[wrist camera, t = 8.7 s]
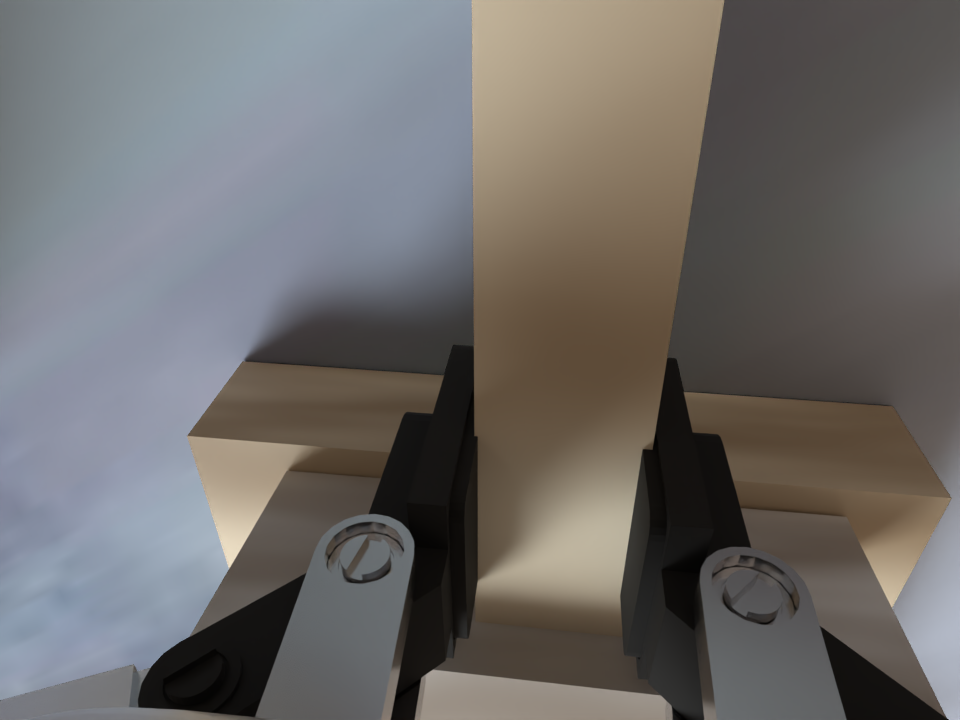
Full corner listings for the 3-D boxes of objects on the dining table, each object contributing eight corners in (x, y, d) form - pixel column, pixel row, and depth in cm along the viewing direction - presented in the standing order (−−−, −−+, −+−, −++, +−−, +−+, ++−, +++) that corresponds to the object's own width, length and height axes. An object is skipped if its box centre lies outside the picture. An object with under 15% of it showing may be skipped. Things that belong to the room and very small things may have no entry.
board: (243, 361, 17) (187, 435, 15) (892, 406, 16) (951, 498, 13) (316, 670, 25) (287, 753, 23) (756, 721, 24) (777, 817, 21)
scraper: (175, -131, 10) (-95, -203, 6) (1088, -149, 8) (1535, -254, 4) (295, 520, 16) (205, 697, 12) (827, 568, 15) (918, 783, 11)
